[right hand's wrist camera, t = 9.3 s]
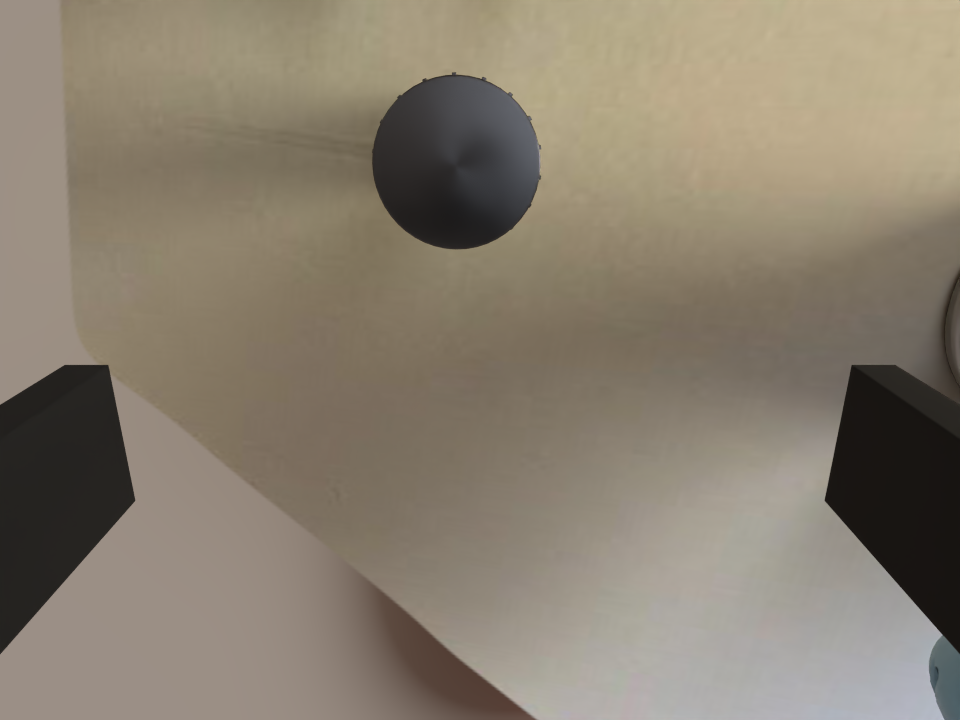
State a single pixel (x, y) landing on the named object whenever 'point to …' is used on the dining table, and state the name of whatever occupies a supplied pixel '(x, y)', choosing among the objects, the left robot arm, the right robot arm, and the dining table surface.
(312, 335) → the dining table surface
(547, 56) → the dining table surface
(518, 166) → the lid
